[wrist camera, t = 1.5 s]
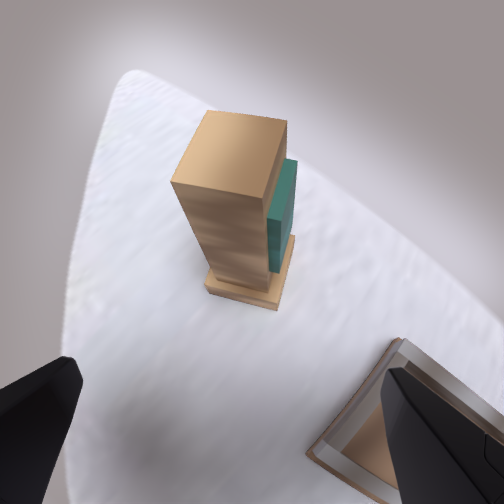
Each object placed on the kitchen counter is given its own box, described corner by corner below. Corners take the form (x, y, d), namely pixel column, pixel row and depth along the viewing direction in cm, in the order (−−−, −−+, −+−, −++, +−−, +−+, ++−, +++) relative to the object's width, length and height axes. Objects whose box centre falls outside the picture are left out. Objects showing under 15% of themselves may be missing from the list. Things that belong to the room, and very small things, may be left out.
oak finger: (209, 293, 23) (147, 189, 12) (230, 233, 25) (196, 101, 13) (277, 310, 23) (280, 215, 11) (293, 247, 24) (307, 116, 13)
